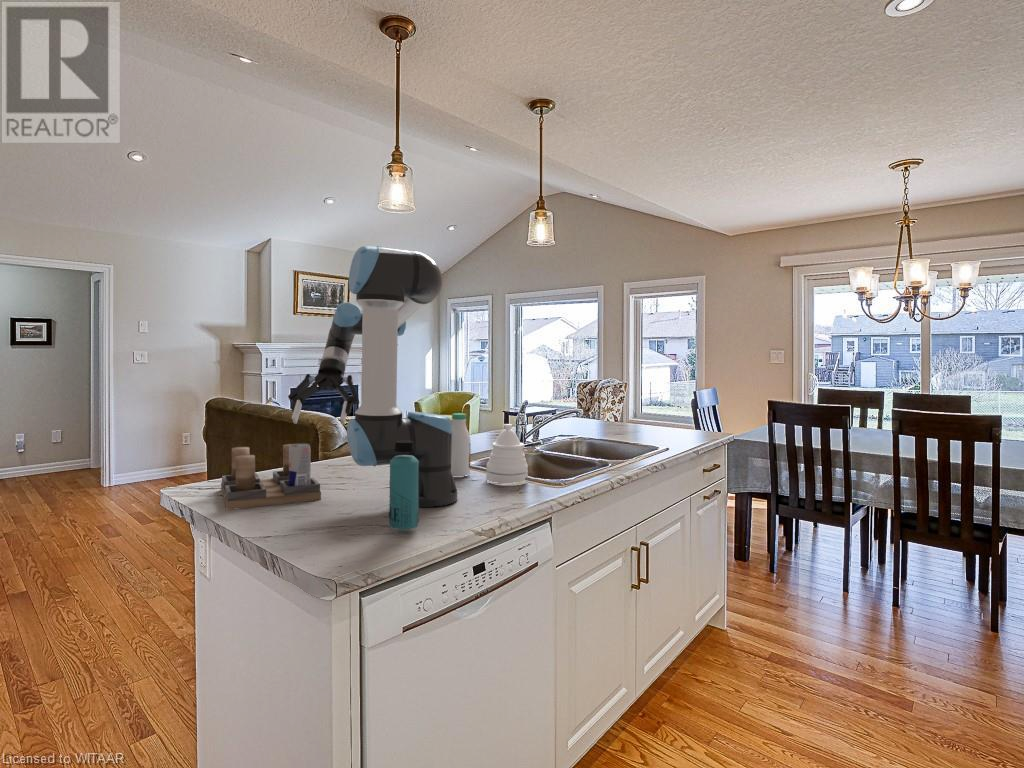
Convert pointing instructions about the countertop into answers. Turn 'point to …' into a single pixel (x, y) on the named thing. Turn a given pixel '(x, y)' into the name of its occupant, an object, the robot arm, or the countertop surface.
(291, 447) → the energy drink
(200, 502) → the countertop surface
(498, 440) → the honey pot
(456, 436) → the milk bottle
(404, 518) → the beverage bottle
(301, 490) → the pillar candle tray
